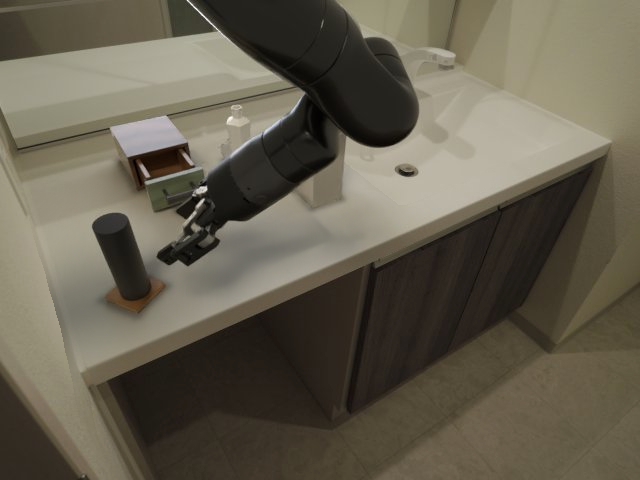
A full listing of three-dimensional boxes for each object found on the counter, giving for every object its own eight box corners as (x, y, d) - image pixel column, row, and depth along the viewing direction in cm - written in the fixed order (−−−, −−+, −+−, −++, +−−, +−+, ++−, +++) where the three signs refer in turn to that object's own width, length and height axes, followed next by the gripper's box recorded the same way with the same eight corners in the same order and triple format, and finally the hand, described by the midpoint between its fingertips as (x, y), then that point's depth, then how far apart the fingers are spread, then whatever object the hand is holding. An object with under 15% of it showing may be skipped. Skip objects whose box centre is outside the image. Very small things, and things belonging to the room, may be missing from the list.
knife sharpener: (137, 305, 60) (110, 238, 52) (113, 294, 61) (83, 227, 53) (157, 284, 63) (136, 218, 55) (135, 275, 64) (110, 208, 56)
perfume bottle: (258, 171, 89) (253, 104, 79) (248, 182, 86) (242, 113, 76) (238, 167, 90) (231, 100, 80) (228, 177, 87) (220, 109, 77)
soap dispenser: (318, 215, 79) (324, 103, 64) (296, 191, 84) (296, 82, 70) (347, 205, 81) (358, 95, 67) (323, 182, 87) (329, 76, 72)
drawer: (216, 205, 78) (211, 179, 74) (160, 223, 74) (153, 197, 70) (185, 164, 88) (180, 139, 84) (134, 178, 84) (127, 152, 80)
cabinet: (194, 174, 87) (188, 142, 82) (137, 190, 82) (127, 157, 77) (172, 146, 95) (165, 115, 90) (120, 159, 90) (109, 127, 85)
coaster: (137, 314, 60) (136, 310, 59) (106, 299, 62) (104, 296, 61) (165, 286, 64) (164, 282, 64) (135, 273, 66) (133, 270, 65)
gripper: (243, 122, 51) (165, 185, 59) (218, 196, 41) (128, 260, 49) (284, 162, 55) (206, 216, 63) (271, 238, 45) (180, 291, 53)
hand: (172, 235), depth 56 cm, fingers open, 8 cm apart
